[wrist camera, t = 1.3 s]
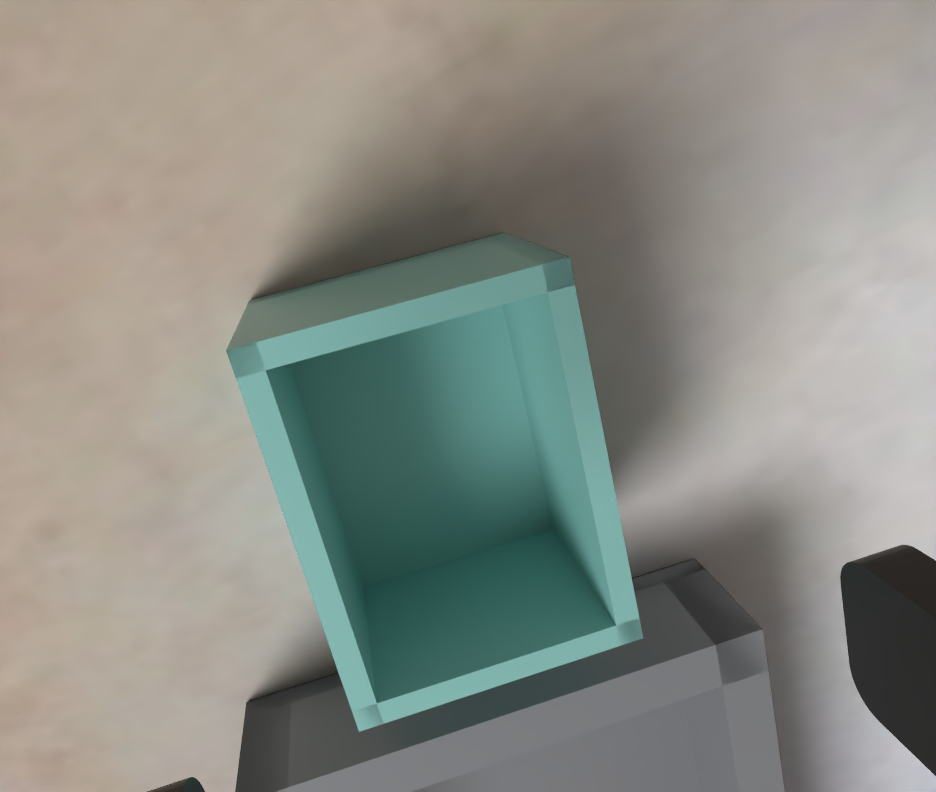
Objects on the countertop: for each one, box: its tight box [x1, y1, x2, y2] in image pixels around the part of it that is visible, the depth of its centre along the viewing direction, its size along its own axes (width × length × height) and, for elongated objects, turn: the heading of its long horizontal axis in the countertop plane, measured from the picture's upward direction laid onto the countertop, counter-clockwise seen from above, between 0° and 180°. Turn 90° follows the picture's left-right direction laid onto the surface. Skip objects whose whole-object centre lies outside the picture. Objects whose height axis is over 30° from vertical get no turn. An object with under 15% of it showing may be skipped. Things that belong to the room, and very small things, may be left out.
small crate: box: [226, 233, 643, 732], centre depth 17 cm, size 8×6×5 cm
